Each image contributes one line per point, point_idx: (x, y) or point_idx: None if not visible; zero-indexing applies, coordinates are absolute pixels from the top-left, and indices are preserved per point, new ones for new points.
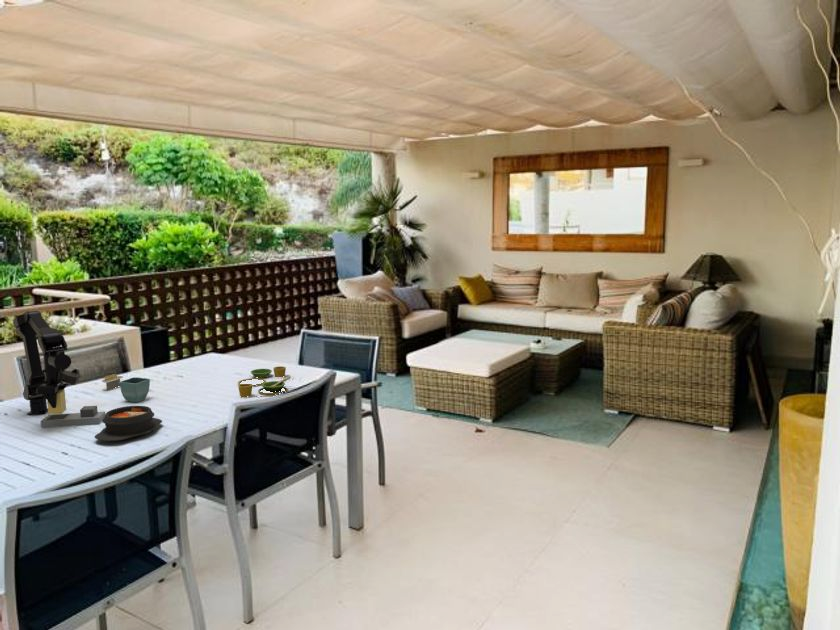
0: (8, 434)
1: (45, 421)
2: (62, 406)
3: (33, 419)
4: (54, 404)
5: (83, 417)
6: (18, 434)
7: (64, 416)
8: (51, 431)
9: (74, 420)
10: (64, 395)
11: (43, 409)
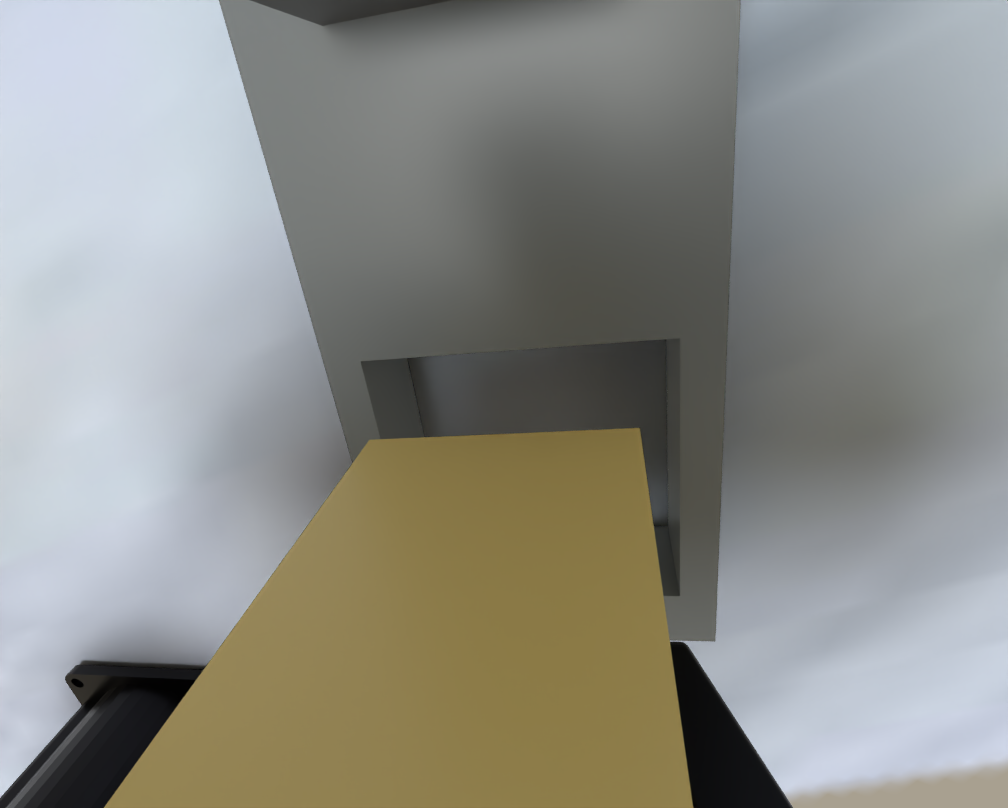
0: (889, 773)
1: (716, 579)
2: (560, 524)
3: None
4: (746, 750)
5: None
6: (933, 700)
7: (394, 423)
8: (960, 375)
9: (726, 88)
10: (173, 797)
11: (165, 720)
